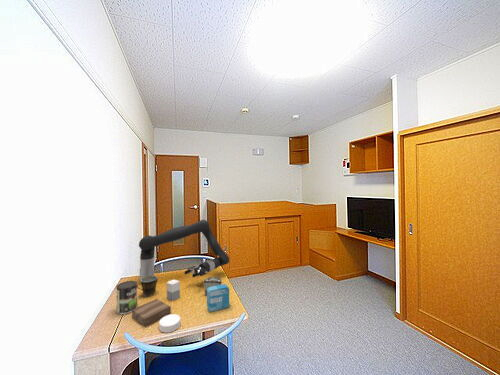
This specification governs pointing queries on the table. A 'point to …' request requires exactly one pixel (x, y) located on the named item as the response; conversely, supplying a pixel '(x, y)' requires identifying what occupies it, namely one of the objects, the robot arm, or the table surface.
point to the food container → (211, 283)
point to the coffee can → (126, 297)
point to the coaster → (169, 323)
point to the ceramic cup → (148, 285)
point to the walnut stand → (151, 312)
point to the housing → (173, 290)
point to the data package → (217, 297)
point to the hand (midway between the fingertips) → (188, 274)
